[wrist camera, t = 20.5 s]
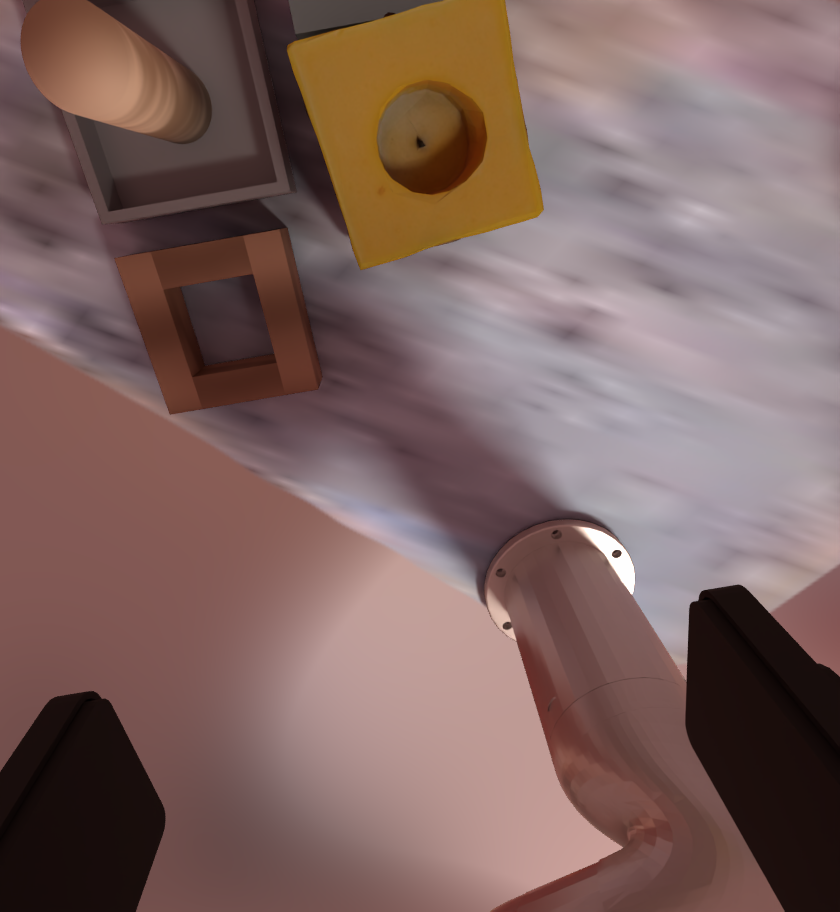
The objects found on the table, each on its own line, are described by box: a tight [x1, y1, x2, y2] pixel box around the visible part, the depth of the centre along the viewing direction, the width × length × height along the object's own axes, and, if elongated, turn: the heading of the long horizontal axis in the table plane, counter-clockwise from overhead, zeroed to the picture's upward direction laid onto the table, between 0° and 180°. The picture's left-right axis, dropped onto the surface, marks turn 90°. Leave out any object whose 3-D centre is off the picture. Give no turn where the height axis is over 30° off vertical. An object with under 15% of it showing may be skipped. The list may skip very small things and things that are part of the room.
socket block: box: [114, 228, 322, 415], centre depth 38 cm, size 10×10×3 cm
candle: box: [287, 0, 544, 270], centre depth 31 cm, size 10×10×10 cm
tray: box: [22, 0, 297, 224], centre depth 33 cm, size 11×11×3 cm
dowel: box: [21, 0, 212, 144], centre depth 28 cm, size 4×4×12 cm
